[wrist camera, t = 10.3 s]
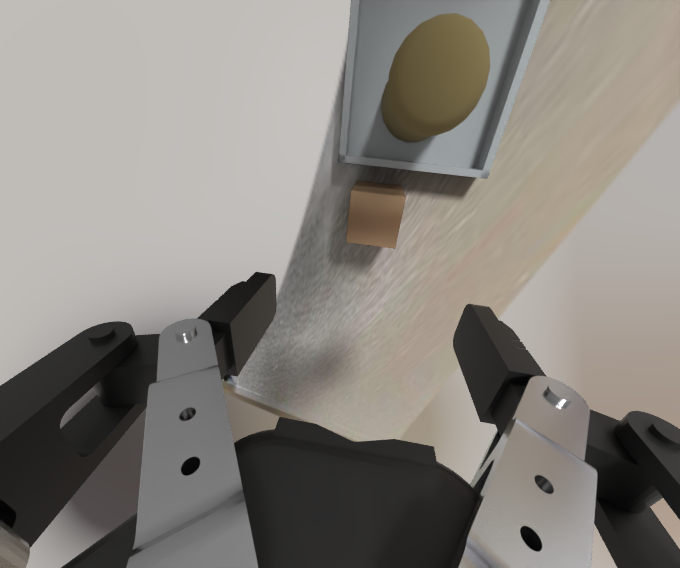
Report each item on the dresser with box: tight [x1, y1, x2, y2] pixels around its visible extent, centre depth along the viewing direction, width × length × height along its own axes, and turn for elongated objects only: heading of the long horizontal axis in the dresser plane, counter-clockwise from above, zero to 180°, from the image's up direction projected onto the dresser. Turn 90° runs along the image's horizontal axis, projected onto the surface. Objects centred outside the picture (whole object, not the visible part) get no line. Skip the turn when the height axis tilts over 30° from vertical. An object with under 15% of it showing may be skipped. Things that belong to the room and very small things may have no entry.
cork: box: [381, 13, 490, 142], centre depth 17 cm, size 6×6×11 cm
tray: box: [338, 0, 550, 179], centre depth 20 cm, size 18×13×2 cm
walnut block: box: [346, 181, 406, 249], centre depth 25 cm, size 4×4×6 cm
